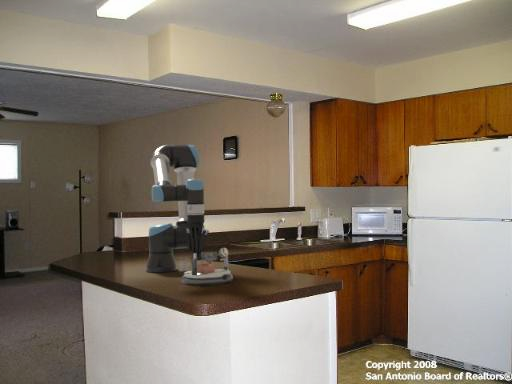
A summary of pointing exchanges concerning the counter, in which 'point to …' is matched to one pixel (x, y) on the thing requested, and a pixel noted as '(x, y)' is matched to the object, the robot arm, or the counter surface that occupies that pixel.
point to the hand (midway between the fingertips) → (196, 267)
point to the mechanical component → (208, 256)
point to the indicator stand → (224, 254)
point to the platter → (215, 275)
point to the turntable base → (207, 281)
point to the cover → (205, 268)
